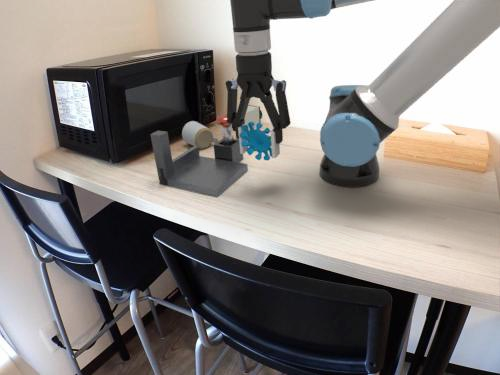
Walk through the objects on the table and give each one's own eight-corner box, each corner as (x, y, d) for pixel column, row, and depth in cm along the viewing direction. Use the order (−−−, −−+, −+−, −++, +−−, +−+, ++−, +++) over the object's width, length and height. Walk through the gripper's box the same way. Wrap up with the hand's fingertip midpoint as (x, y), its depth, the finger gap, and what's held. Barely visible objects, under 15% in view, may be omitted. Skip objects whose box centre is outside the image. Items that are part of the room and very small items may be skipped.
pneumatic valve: (263, 137, 125) (262, 102, 120) (242, 148, 117) (239, 111, 112) (250, 134, 128) (248, 100, 123) (229, 145, 120) (226, 109, 115)
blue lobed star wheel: (253, 161, 81) (235, 122, 83) (240, 172, 85) (223, 135, 87) (288, 153, 88) (271, 117, 90) (274, 164, 92) (258, 130, 94)
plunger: (239, 145, 108) (237, 115, 103) (231, 151, 104) (228, 120, 99) (225, 143, 110) (222, 113, 105) (216, 149, 106) (213, 118, 102)
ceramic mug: (196, 152, 116) (194, 129, 113) (182, 146, 122) (180, 123, 118) (223, 143, 122) (221, 121, 119) (209, 138, 128) (207, 116, 124)
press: (258, 161, 108) (256, 115, 101) (217, 197, 90) (211, 143, 84) (206, 153, 115) (201, 109, 109) (159, 184, 98) (150, 134, 92)
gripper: (202, 55, 78) (215, 154, 89) (292, 55, 69) (294, 165, 80) (220, 49, 84) (230, 143, 95) (306, 49, 75) (306, 152, 86)
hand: (259, 153), depth 87 cm, fingers closed on blue lobed star wheel, 8 cm apart
